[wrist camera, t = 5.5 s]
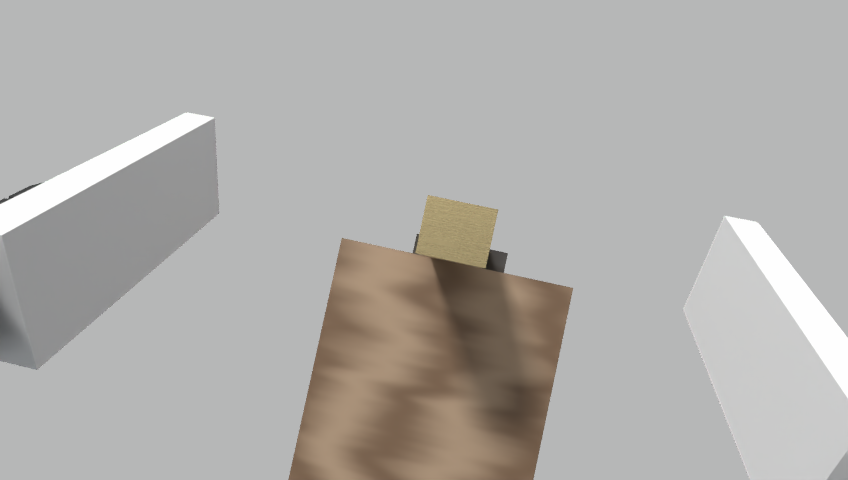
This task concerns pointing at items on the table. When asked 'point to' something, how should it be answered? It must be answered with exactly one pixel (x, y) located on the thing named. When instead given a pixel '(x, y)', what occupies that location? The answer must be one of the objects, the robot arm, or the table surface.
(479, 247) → the light wood bar
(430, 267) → the walnut stand
